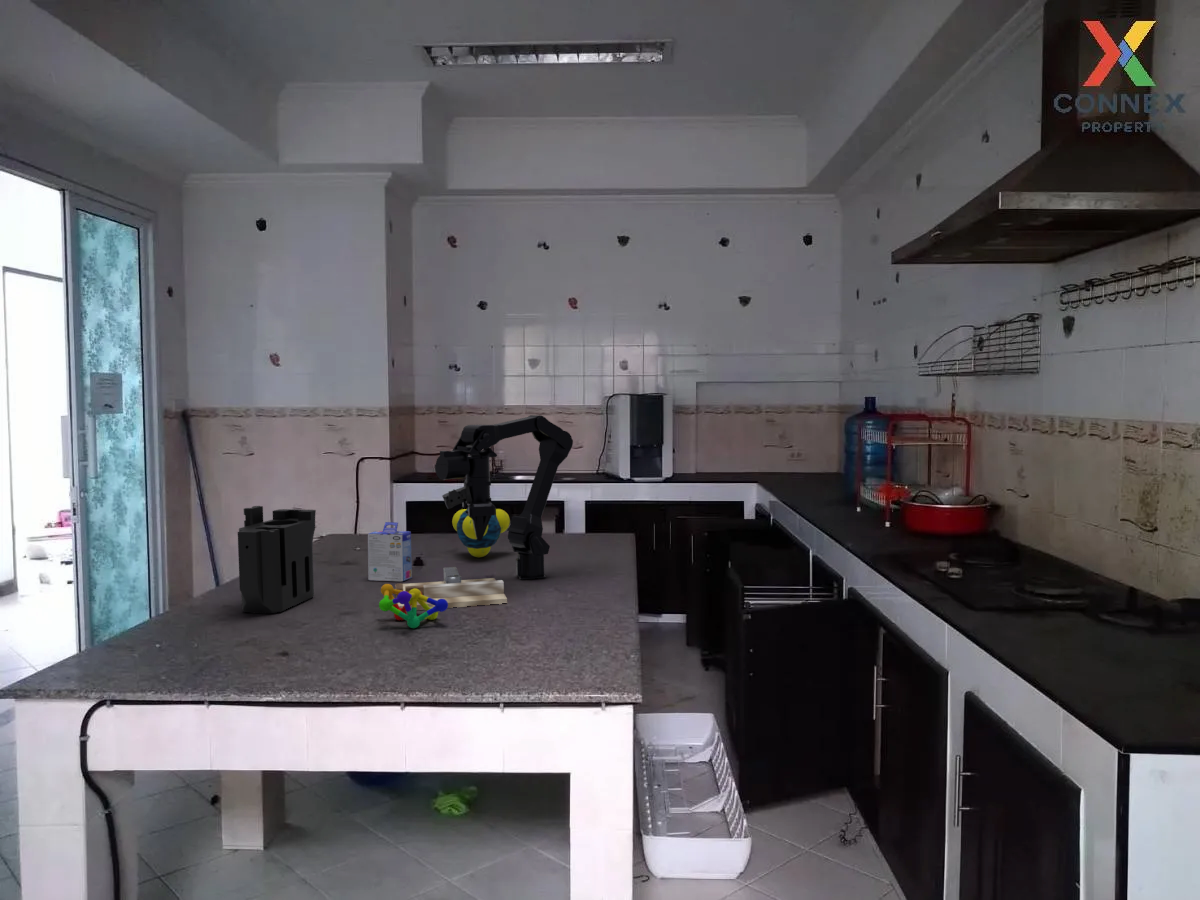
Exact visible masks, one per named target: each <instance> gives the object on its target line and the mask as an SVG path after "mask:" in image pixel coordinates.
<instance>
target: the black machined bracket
mask: <svg viewBox="0 0 1200 900" xmlns="http://www.w3.org/2000/svg"><path fill="white" fill-rule="evenodd" d="M316 511H317V510H316V509H297V508H296V509H294V508H293V509H292V508H290V509H288V508H286V509H285V508H284V509H283V508H281V509H276V510H272V519H269V520H264V507H263V506H262V505H253V506H251V507H245V508H243V515H244V517H245V518H244V519H245V520H243V525H244V526H242V527H239V528H238V531H237V550H238V551H237V552H238V555H237V556H238V576H239V578H238V579H239V582H238V583H239V591H240V594H241V610H242V611H243V612H244V613H245V612H255V613H254V614H266V613H275V614H278V613H277V612H280V613H282V612H285V611H287V610H288V608H289V609H291V608H293V607H295V606H297V604H298V605H299V603H300V604H301V602H302V603H304V602H306V601H308V600H311V599H312V598H313V597H314V595H315V582H314V581H315V579H314V551H313V548H314V547H313V545H314V543H313V542H314V535H315V531H316V514H317V513H316ZM303 601H304V602H303ZM292 606H293V607H292ZM290 607H291V608H290ZM286 609H287V610H286Z"/></svg>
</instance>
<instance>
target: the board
mask: <svg viewBox="0 0 1200 900" xmlns="http://www.w3.org/2000/svg"><path fill="white" fill-rule="evenodd" d="M504 583H505V582H504V580H502V579H498V580H496V578H495V577H491V578H475V579H474V578H473V579H461V583H450V584H445V582H444V580H443V581H429V582H427V581H426V582H413V583H410V582H409V583H400V582H399V583H395V585H394V586H395V588H394V589H397V590H402V591H407V592H409V591H410V590H411V589H414V588H416V589H418V590H420V591H421V592H422V595H424V596H426V597H429V598H431V599H434V600H439V599H445V600H446V601H447V602H448V608H447V609H454V608H453V607H457V608H468V607H467V606H471V607H478V606H477V605H485V606H491V605H490V604H499V605H503V604H502V603H507V604H508V598H507V596H506V594H505V584H504ZM397 596H398V595H397V594H395V598H397ZM425 603H426V604H427V605H428V606H429V607H430V608H431V607H434V606H435V605H433V604H430V603H428V602H425ZM397 604H398V605H399V607H400V608H402V607H403V606H404V604H400V603H397ZM410 607H411V609H412V605H411V606H410ZM417 611H426V610H425V609H424V608H423V607H422V606H421V605H420V604H419V603H418V602H417Z"/></svg>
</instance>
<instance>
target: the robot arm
mask: <svg viewBox="0 0 1200 900" xmlns="http://www.w3.org/2000/svg"><path fill="white" fill-rule="evenodd" d="M530 433H531V434H532V436H533V438H534V439H535V441H537V442H538V443H539V447H538V453H539V459H540V461H539V464H538V466H537V469H536V471H535V472H536V473H535V475H534V478H533V481H532V484H531V487H530V490H529V493H528V496H527V498H526V502H525V504H524V508H523V510H522V512H521V513H520V514H519V515H518V516H516V515H513V516H511V517H512V518H511V519H510V524H509V527H508V529H507V530H506V531H507V532H508V533H507V539H508V541H509V543H510V545H511V548H512V551H513V553H517V558H516V559H515V574H516V576H517V577H518V579H519V580H522V581H523V580H535V578H538V579H545V577H546V575H545V555H549V552H550V544H549V543H547V541H546V540H545V539H544V538H543V537H542V536H543V532H544V531H543V530H544V528H543V527H544V526H543V522H542V516H543V513H544V510H545V507H546V505H547V501H548V498H549V495H550V492H551V489H552V486H553V483H554V480H555V477H556V474H557V473H558V472H557V471H558V468H559V466H560V465H561V464H562V463H563V462H564V461H565V459H566V458H567V457H568V456H569V455H570V453H571V450H572V448H573V444H574V439H573V438H572V435H571V433H570V432H569V431H566V430H564V429H563V428H561V427H560V426H558V425H556V424H555V423H553V422H551V421H550V420H549V419H548V418H547V417H545V416H544V415H541V414H536V415H535V414H532V415H529V416H526V417H521V418H518V419H513V420H508V421H504V422H499V423H495V424H494V423H493V424H467V425H465V426H464V427H463V429H462V430H461V433H460V434H461V435H460V437H459V438H458V440H457V442H456V444H455V445H454V447H453V448H452V450H440V451H439V456H438V457H437V459H436V460H435V461H436V462H435V464H434V469H435V470H434V471H435V474H436V476H437V478H438V479H439V480H441V481H445V480H446V481H447V480H457V479H464V478H465V480H464V481H463V486H462V487H460V488H456V489H455V488H454V489H452V490H451V491H450V490H449V491H448V492H447V493H444V494H442V495H441V496H442V500H443V501H444V503H445V506H446V508H447V510H450V509H452V508H454V507H455V506H458V505H461V504H462V506H461V507H462V509H463V508H464V509H465V508H466V507H467V508H466V509H468V511H465V512H466V513H467V515H468V516H469V517H470V518H471V519H472V521H473V526H474V530H475V534H476V538H477V541H481V540H482V538H483V536H484V533H485V531H486V528H487V526H488V523H489V521H490V518H491V516H492V515H496V509H497V507H496V505H494V504H493V503H492V497H491V486H492V481H491V479H490V477H491V474H490V473H491V472H490V458H497V456H498V454H497V453H496V452H495V451H493V450H492V448H491V447H493V446H495V445H497V444H498V443H499V442H500V441H502V440H506V439H510V438H514V437H517V436H522V435H526V434H530ZM546 578H547V577H546Z"/></svg>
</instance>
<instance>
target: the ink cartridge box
mask: <svg viewBox="0 0 1200 900" xmlns="http://www.w3.org/2000/svg"><path fill="white" fill-rule="evenodd" d="M388 526H394V527H388ZM398 527H399V522H389V521H387V522H386V521H385V523H384V526H383V529H382V530H375V531H373V532H372V531H371V532H369V533H367V560H368V561H367V562H368V563H367V565H368V566H367V571H368V575H367V576H368V579H367V580H368V581H375V582H376V581H380V582H405V581H407V580H410V579H412V578H413V574H412V571H413V569H412V567H413V566H412V532H411V531H409V530H407V531H406V530H405V531H403V530H401V531H399V530H398Z"/></svg>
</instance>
